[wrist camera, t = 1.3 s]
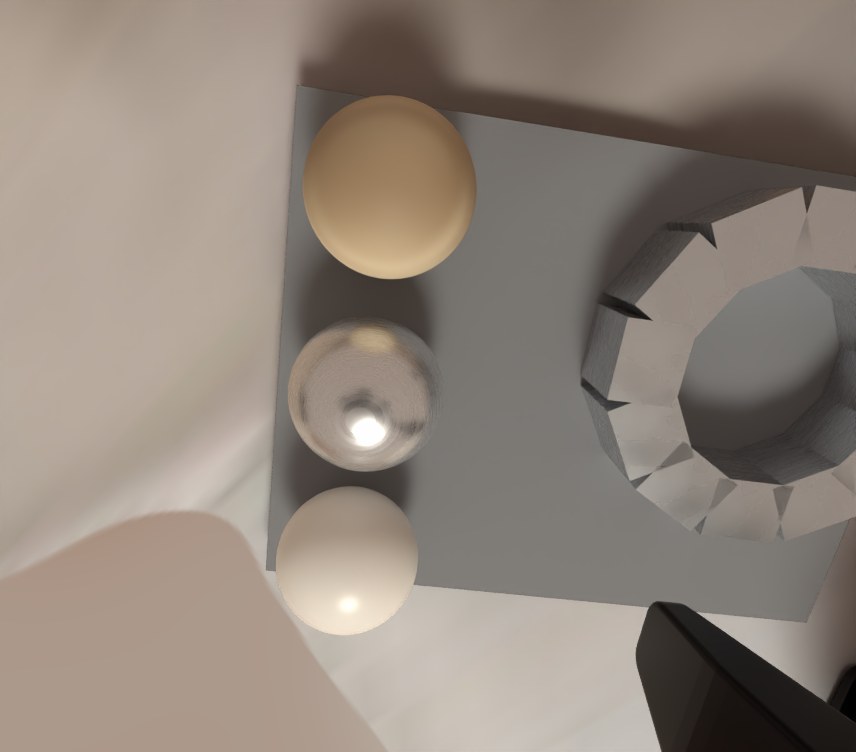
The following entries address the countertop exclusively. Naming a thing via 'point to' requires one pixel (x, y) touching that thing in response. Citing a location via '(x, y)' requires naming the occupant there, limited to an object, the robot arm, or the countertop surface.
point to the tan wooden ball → (389, 187)
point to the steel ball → (365, 393)
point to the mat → (563, 375)
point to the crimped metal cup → (670, 349)
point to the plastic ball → (347, 560)
